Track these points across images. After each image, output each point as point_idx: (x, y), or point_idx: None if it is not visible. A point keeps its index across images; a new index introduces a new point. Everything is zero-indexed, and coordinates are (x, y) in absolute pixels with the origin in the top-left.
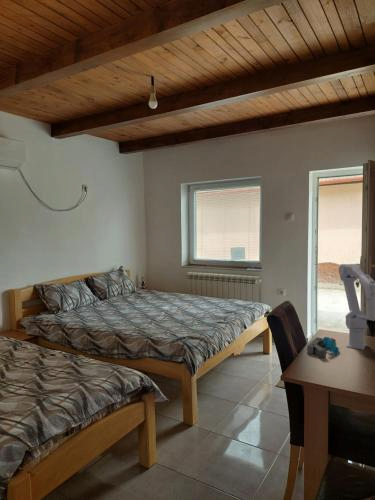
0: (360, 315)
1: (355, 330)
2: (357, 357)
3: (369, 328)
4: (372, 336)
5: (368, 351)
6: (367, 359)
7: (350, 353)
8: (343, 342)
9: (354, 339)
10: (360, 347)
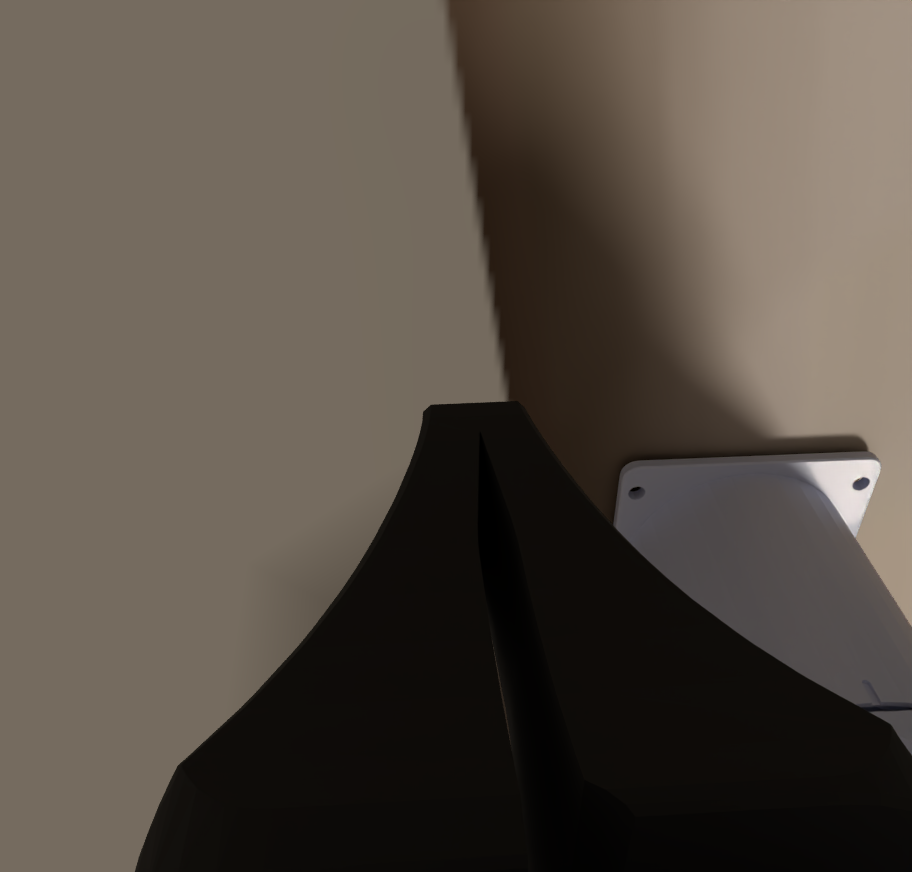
0: None
1: (893, 726)
2: (703, 6)
3: (637, 565)
4: (473, 404)
5: None
6: (505, 9)
7: (833, 173)
8: (903, 596)
9: (819, 569)
10: (673, 500)
